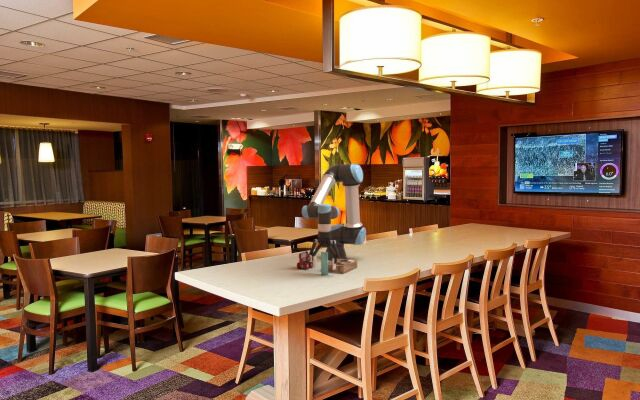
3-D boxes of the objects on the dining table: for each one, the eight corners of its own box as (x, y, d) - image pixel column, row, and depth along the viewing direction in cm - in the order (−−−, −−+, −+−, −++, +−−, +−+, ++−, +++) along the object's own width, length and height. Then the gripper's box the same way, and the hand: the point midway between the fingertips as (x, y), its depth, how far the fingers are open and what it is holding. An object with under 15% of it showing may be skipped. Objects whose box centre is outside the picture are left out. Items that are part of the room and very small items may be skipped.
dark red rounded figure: (315, 267, 300) (315, 250, 299) (304, 270, 289) (304, 253, 289) (305, 266, 303) (305, 249, 303) (295, 269, 293) (294, 252, 292)
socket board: (322, 271, 286) (322, 263, 286) (336, 265, 304) (336, 257, 304) (343, 273, 280) (343, 265, 280) (357, 267, 298) (357, 259, 297)
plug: (319, 275, 277) (319, 252, 276) (323, 273, 281) (322, 251, 280) (326, 275, 275) (326, 253, 274) (329, 274, 279) (329, 252, 278)
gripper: (303, 230, 278) (303, 267, 280) (340, 233, 267) (340, 271, 269) (309, 229, 285) (309, 265, 286) (346, 231, 274) (346, 268, 275)
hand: (324, 268), depth 278 cm, fingers open, 12 cm apart
